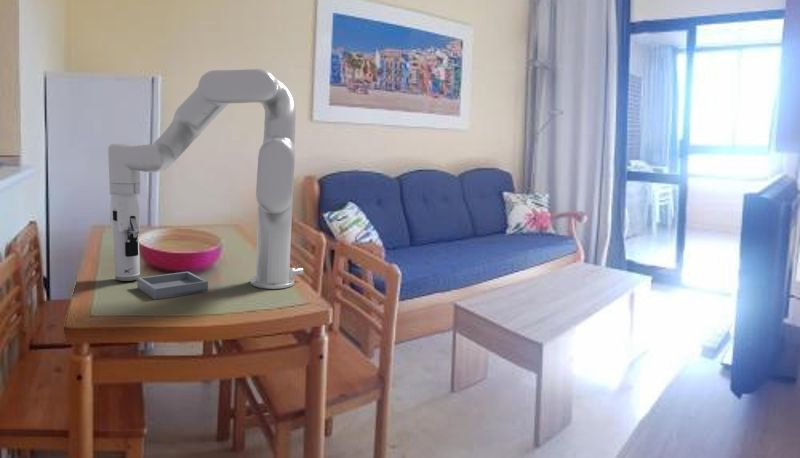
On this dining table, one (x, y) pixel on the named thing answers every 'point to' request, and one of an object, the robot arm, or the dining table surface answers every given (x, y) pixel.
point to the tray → (172, 285)
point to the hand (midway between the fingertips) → (127, 253)
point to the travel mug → (124, 265)
